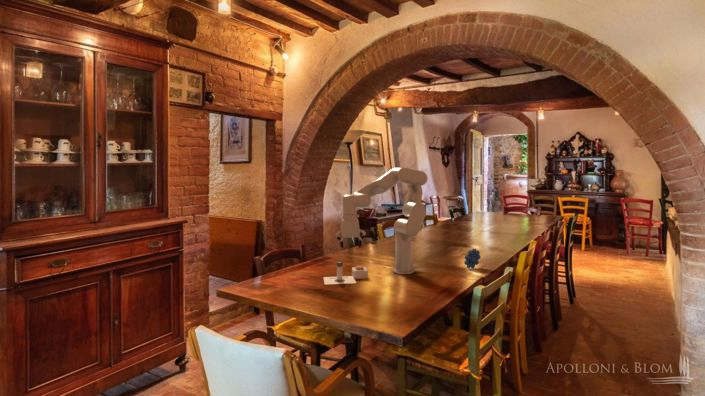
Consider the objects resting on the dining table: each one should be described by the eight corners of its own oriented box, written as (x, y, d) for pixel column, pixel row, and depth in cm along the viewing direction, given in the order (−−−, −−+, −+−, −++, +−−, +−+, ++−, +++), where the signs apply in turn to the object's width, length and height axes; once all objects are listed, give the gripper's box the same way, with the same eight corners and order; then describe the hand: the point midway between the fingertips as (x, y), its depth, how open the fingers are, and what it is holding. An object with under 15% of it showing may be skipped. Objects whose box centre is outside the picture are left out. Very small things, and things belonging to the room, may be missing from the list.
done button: (362, 270, 236) (362, 265, 235) (363, 272, 232) (363, 267, 232) (356, 270, 235) (356, 265, 235) (356, 272, 232) (356, 267, 232)
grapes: (475, 265, 257) (475, 246, 256) (482, 268, 251) (483, 248, 250) (460, 267, 253) (460, 248, 252) (467, 270, 246) (467, 250, 245)
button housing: (365, 274, 238) (365, 266, 238) (367, 278, 230) (367, 270, 230) (351, 275, 238) (351, 267, 237) (353, 278, 230) (353, 271, 229)
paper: (353, 276, 235) (353, 275, 235) (356, 283, 221) (356, 282, 221) (323, 277, 233) (323, 276, 233) (324, 284, 219) (324, 284, 219)
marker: (342, 279, 227) (342, 261, 227) (343, 281, 224) (342, 263, 223) (336, 279, 227) (336, 261, 226) (337, 281, 224) (336, 263, 223)
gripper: (364, 215, 232) (365, 245, 234) (333, 217, 230) (335, 247, 232) (366, 217, 224) (367, 248, 226) (334, 218, 222) (336, 250, 224)
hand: (351, 247), depth 229 cm, fingers open, 9 cm apart
